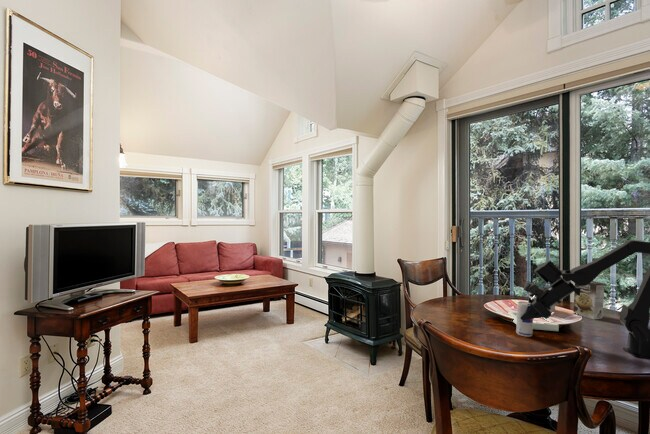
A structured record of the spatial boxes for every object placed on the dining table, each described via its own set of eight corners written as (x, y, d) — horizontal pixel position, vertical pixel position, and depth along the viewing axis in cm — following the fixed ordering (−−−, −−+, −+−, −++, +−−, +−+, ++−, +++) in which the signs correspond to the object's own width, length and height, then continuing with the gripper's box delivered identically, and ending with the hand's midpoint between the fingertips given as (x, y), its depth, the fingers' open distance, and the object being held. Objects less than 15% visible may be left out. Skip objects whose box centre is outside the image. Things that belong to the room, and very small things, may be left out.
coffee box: (572, 313, 156) (573, 279, 155) (581, 312, 158) (583, 278, 157) (594, 319, 147) (595, 283, 147) (603, 318, 149) (605, 282, 149)
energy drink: (534, 337, 125) (535, 306, 125) (519, 336, 126) (520, 305, 126) (529, 332, 131) (530, 302, 130) (514, 331, 132) (515, 301, 131)
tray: (558, 331, 132) (558, 325, 132) (520, 328, 135) (520, 322, 135) (542, 319, 146) (543, 314, 146) (508, 316, 149) (508, 311, 149)
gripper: (536, 271, 134) (504, 294, 140) (541, 280, 118) (504, 306, 123) (559, 293, 131) (525, 316, 136) (567, 305, 114) (528, 331, 120)
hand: (520, 316), depth 129 cm, fingers open, 6 cm apart
